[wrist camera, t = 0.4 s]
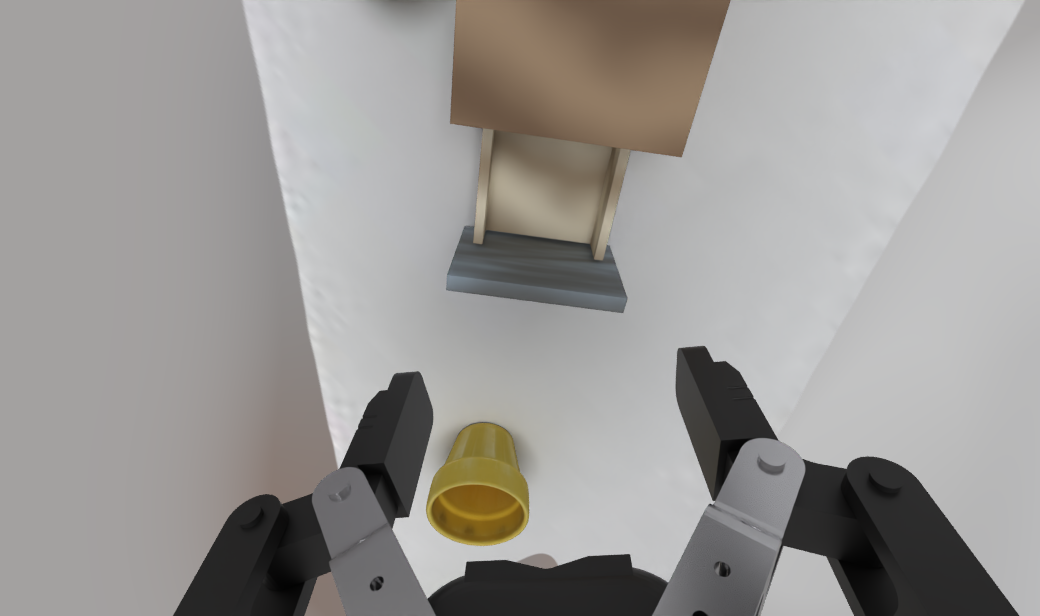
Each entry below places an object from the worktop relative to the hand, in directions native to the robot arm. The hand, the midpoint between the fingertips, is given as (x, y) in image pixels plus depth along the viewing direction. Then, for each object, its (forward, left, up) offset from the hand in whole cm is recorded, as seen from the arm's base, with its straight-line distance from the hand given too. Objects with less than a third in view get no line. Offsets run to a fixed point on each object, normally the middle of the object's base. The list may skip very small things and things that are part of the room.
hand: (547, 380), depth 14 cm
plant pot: (+33, -1, -27) cm, 42 cm away
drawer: (0, +1, -25) cm, 25 cm away
